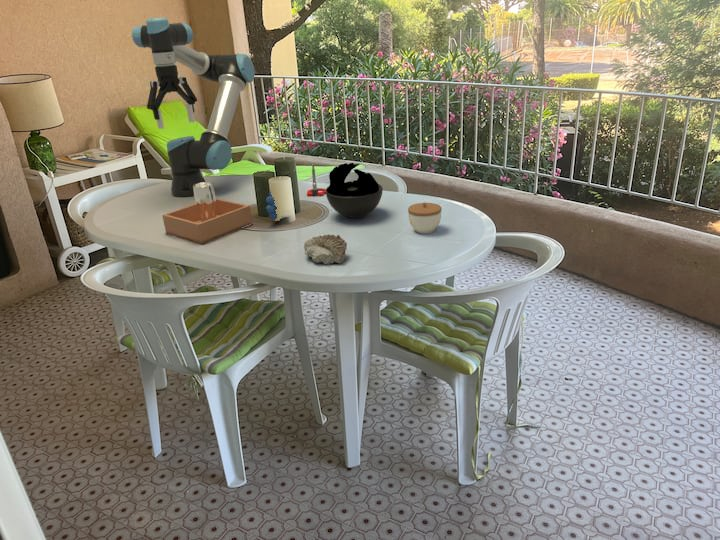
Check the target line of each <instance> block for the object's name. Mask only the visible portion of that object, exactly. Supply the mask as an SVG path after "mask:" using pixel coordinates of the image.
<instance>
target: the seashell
mask: <svg viewBox="0 0 720 540" xmlns="http://www.w3.org/2000/svg"><path fill="white" fill-rule="evenodd" d="M347 244H348V243H347V242H346V240H344V238H342V237H341V236H340V234H337V235H335V234H324V235H321V234H320V235H319V236H314V237H312V238H309V239H308V240H306V241H305V242H304V245H303V249H304V255H306V256H307V257H310V258H312V259H311V260H312V261H313V262H314V263H323V264H325V265H326V266H327V265H329V264H334V263H337V264H342V263H343V262H344V261H345V259H346V250H347V246H348V245H347Z"/></svg>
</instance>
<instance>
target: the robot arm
mask: <svg viewBox="0 0 720 540" xmlns="http://www.w3.org/2000/svg"><path fill="white" fill-rule="evenodd" d="M131 33H132V34H131V38H132V41H133V42H134V43H133V44H135V46H137V47H139V48H143V49H145V48H149V49H151V53H152V55H151V56H152V60H153V64H154V65H155V67H154V69H155V75H156V78H157V81H153V80H152V81H150V82H149V83H150V84H149V86H150V89H149V93H148V94H149V95H148V99H147V103H146V109H147V110H151V111H152V113H153V118H154V120H156V125H157V128H158V129H160V130H162V129H165V124H164V121H163V115H162V111H161V109H160V107H161V104H162V102H163V100H164V98H165V96H166V94H167V93H172V92H173V93H175V92H176V93H177V94H178V95H179V96H180V97H181V98H182V99H183V100H184V101H185V102H186V103H187V104H185V107H186V112H187V118H188V122H189V123H196V119H195V116H194V115H195V114H194V113H195V106H194V105H195V104H196V102H198V98H197V96H196V95H195V93H194V91H193V90H192V88H191V87H190V85H189V83H188V81H187V78H186V77H185V76H183V77H182V76H180V77H179V72H178V67H177V66H178V65H176V64H177V63H178V64H181V65H182V66H185V67H186V68H188V69H190V70H191V71H192V72H193V74H195V75H197V76H199V77H201V78H203V79H206V80H207V81H210V82H214V83H216V84H217V83H218V84H220V85H219V89H218V92H217V95H216V97H215V98H216V99H215V101H214V106H213V109H212V112H211V116H210V117H209V121H208V125H207V129H206V130H205V131H203V132H202V133H200V134H201V135H200V138H199V140H196V138H195V136H193V135H189V136H182V137H177V138H174V139H172V140H169V141H167V143H166V150H167V151H166V152H167V155H168V160H169V161H168V162H169V166H170V171H171V175H172V177H171V178H172V180H171V187H170V192H171V195H172V196H173V197H177V198H178V197H179V198H181V197H182V198H186V197H187V198H188V197H193V196H194V191H193V185H195V184H197V183H202V182H206V180H205V178H204V177H203V175H202V172H201V170H212V171H217V170H223V169H225V168H227V167H228V166H229V164H230V163H231V161H232V157H233V154H232V153H233V152H232V151H233V150H232V147H231V144H230V140H229V139H228V135H229V132H230V128H231V125H232V121H233V118H234V114H235V111H236V108H237V104H238V101H239V97H240V94H241V92H243V91H244V90H245V89H246V85H247V84H249V83H252V82H254V79H255V74H256V72H255V66H254V64H253V61H252V59H251V57H250V56H249V55H248V54H245V53H236V54H234V53H233V54H229V53H228V54H208V53H206V52H204V51H197V50H195V49H193V48H191V47H189V46H188V45H189V44H190V43H192V42H193V40H194V39H193V38H194V33H193V29H192V28H191V27H190V25H188V24H187V23H184V22H177V23H176V22H175V23H174V22H173V23H170V22H169V20H168V18H167V17H155V18H154V17H153V18H147V19H146V21H145V25H144V24H142V25H137V26H135V27H134V28H133V29H132V31H131ZM176 62H177V63H176ZM180 85H181V86H182V87H181V86H180ZM158 87H159V89H158Z"/></svg>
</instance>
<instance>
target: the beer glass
mask: <svg viewBox="0 0 720 540" xmlns="http://www.w3.org/2000/svg"><path fill="white" fill-rule="evenodd" d="M193 191H194V197H193V198H194V202H195V204H196V205H197V208H198V211H199V213H200V216H201V222H204V221H206V220H209V219H212V218H215V217H216V198H217V197H216V193H215V188H214V184H213V182H210V181H205V182H202V183H197V184H195V185H193Z"/></svg>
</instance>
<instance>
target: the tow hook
mask: <svg viewBox="0 0 720 540" xmlns="http://www.w3.org/2000/svg"><path fill="white" fill-rule="evenodd" d="M311 173H312V174H311V175H312V188H310V189H308V190H307V193H306V196H307V197H323V196H324V195H326V189H327V188H324V187H323V188H318V187H317V181H316V169H315V164H314V163H312V164H311Z"/></svg>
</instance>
